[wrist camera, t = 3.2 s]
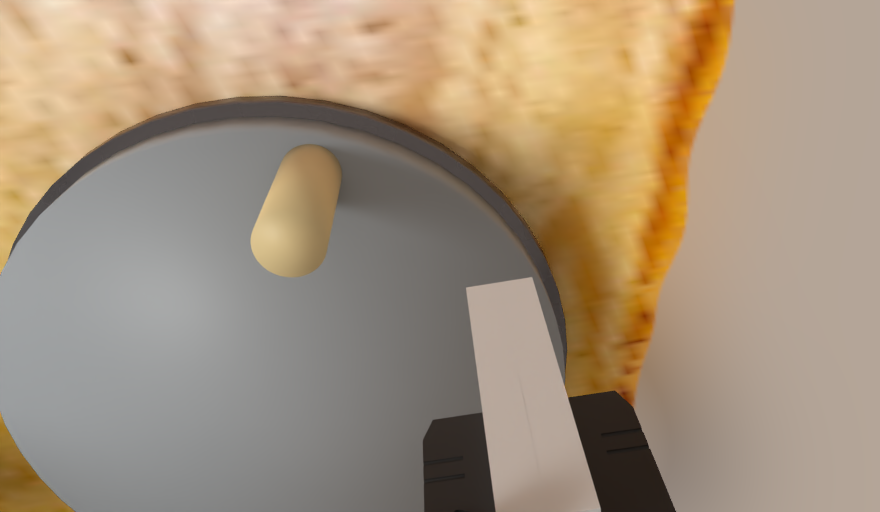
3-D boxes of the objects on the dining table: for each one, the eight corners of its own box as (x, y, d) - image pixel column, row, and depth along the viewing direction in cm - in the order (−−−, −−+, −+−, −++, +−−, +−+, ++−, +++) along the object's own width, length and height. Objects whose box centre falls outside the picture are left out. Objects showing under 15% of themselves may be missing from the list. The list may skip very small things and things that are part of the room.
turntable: (492, 575, 43) (509, 715, 36) (31, 533, 39) (-51, 677, 32) (626, 171, 31) (691, 262, 24) (-21, 63, 27) (-168, 131, 20)
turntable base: (496, 565, 44) (498, 580, 43) (31, 522, 41) (23, 537, 40) (633, 153, 31) (640, 161, 31) (-22, 41, 28) (-35, 47, 27)
